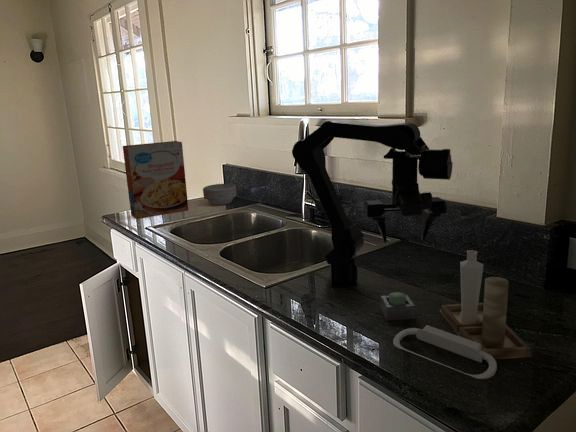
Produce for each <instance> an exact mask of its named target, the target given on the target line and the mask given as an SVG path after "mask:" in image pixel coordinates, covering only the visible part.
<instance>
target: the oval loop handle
mask: <svg viewBox="0 0 576 432" xmlns="http://www.w3.org/2000/svg"><path fill="white" fill-rule="evenodd" d="M409 335H415V336H416V339H417V340H420V341H422V342H425V343H427V344H430V345H434V346H436V347H438V348H441V349H444V350H446V351H450V352H451V353H453V354H457V355H458V356H459V355H460V356H462V357H465V358H467V359H470V360H473V361H475V362H478V363H483V360H482V358H483V359H484V361H486V362H487V364H488V368H487V370H485V371H483V372H482V373H479V374H470V373H466V372H463V371H461V370H458V369H457V368H453V367H451V366H449V365H445V364H444V363H441V362H439V361H436V360H434V359H431V358H428V357H426V356H424V355H421V354H418V353H416V352H414V351H412V350H408V349H406V348H405V347H403V346H402V345H401V340H402V339H404V337H407V336H409ZM392 339H393V340H392V344H393V346H395V348H398V349H400V350H404V351H406V352H408V353H410V354H414V355H416V356H418V357H422V358H424V359H427V360H428V361H431V362H433V363H437V364H439V365H441V366H445V367H446V368H450V369H451V370H454V371H457V372H459V373H462V374H463V375H467V376H469V377H472V378H475V379H479V380H483V379H491V378H492V377H493V376H494V375H495V374H496V372H497V369H498V365H497V361H496V359H494V358H493V357H492V356H491V355H489V354H488V353H486V352H484V351H481V344H480V343H477V342H474V341H471V340H468V339H465V338H462V337H460V336H458V334H453V333H450V332H448V331H446V330H442V329H439V328H437V327H434V326H430V325H427V324H426V325H425V326H424V327H423V328H422V329H421V328H418V327H417V328H416V327H410V328H409V327H408V328H406V329H402V330H401V331H399V332H398V333H397V334H395V336H394V337H393V338H392ZM478 351H479V352H478Z"/></svg>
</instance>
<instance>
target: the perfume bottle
mask: <svg viewBox="0 0 576 432" xmlns="http://www.w3.org/2000/svg"><path fill="white" fill-rule="evenodd" d="M466 253H467V254H466V260H463V261H460V262H459V263H460V265H459V270H460V271H459V273H460V274H459V275H460V302H461V303H460V304H461V313H460V316H459V317H460V319H461V321H463V322H476V321H477V320H478V314H477V309H478V303H480V302H479V301H480V292H481V285H482V280H483V279H482V278H483V273H484V272H483V271H484V264H483V263H481V262H480V261H477V256H478V253H479V252H478V251H477V250H473V249H470V250H466Z"/></svg>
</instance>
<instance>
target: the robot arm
mask: <svg viewBox="0 0 576 432" xmlns="http://www.w3.org/2000/svg"><path fill="white" fill-rule="evenodd" d="M335 138H338V139H347V140H356V141H357V140H358V141H366V142H373V143H374V142H375V143H378V144H381V145H383V146H385V147H388V148H390V149H389V150H388V152H387V153H386V154H384V155H383V159H385V160H392V168H391V169H392V173H391V174H392V175H391V176H392V178H391V179H392V180H391V186H392V187H391V189H392V190H391V203H383V201H381V200H380V199H374V200H373V199H372V200H371V199H370V200H365V201H364V202H363V205H362V206H363V210H362V211H363V213H364V214H365V215H366V216H367V217H368V218H371V219H372V220H373V221H375V222H376V224H377V226H378V230H379V232H380V234H381V239H382V240H383V243H384V244H387V237H388V236H387V229H386V219H387V218H386V216H385V215H384V214H385V213H386V212H398V211H399V212H400V214H401V216H403V217H410V216H421V222H420V238H421V239H420V240H421V241H423V242H424V241H425V239H426V238H427V235H428V233H429V230H430V227H431V226H432V224H433V222H434V220H435V219H437V218H438V217H441V216H442V214H446V213H448V203H447V202H446V201H445V200H443V199H442V198H441V197H439V196H434V197H433V194H432V193H431V191H429V192H421V193H420V189H419V188H420V187H419V182H418V175H420V176H422V177H423V179H425V180H429V179H430V180H448V181H450V180H451V179H452V178H451V177H452V173H453V161H452V154H451V149H450V148H443V149H430V147H428V145H427V143H426V142H425V141H424V139H423V138H422V136H421V130H420V128H419V127H418V125H417V124H415V123H413V122H403V123H402V122H399V123H389V124H382V125H381V124H372V123H371V124H370V123H360V122H350V121H339V120H336V119H330V120H327V121H323V123H321V125H320V126H319V127H317V128H316V129H315V130H313V131H312V132H311V133H310V134H308V135H307V136H306V137H305V138H304V139H301V140H298V141H296V142H295V143H294V144H293V147H292V149H291V155H292V157H293V159H294V160H295V162H296V164H297V166H298V167H299V168H300V170H302V171H303V173H305V174H306V175H307V176H308V178H309V180H310V181H311V184H312V186H313V188H314V191H315V194H316V195H317V198H318V201H319V202H320V204H321V208H322V209H323V212H324V214H325V217H326V219H327V221H328V222H329V225H330V229H331V230H330V231H331V233H330V234H331V235H330V236H331V237H330V238H331V243H332V247H333V249H331V251H330V252H328V253H327V254H326V255H325V256H324V257H325V261H326V263H327V265H329V276H328V279H329V283H330V286H331V287H332V288H339V287H356V286H357V284H358V283H357V281H358V265H357V264H356V261H355V259H354V257H356V256H357V254H358V253H359V252H360V251H361V250H362V249H363V247H364V245H365V241H364V238H365V234H364V233H363V232H362V230H361V226H360V224H359V222H356V223H353V222H352V221H350V219H349V218H348V217H347V214H346V212H345V209H344V207H343V205H342V203H341V200H340V197H339V196H338V194H337V192H336V189H335V186H334V184H333V181H332V180H331V178H330V175H329V173H328V170H327V165H326V163H327V162H326V153H325V150H324V149H325V148H326V147H327V146H329V144H331V142H332V141H333V140H334V139H335Z"/></svg>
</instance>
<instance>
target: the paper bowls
mask: <svg viewBox="0 0 576 432" xmlns="http://www.w3.org/2000/svg"><path fill="white" fill-rule="evenodd" d="M202 193H203V199H204V200H207V202H208V203H209V204H210V205H212V206H223V205H228V204H231V203H232V202H233V199H234V198H235V197H236V196H237V186H236V184H233V183H216V184H210V185H206V186H204V187H203V188H202Z"/></svg>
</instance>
